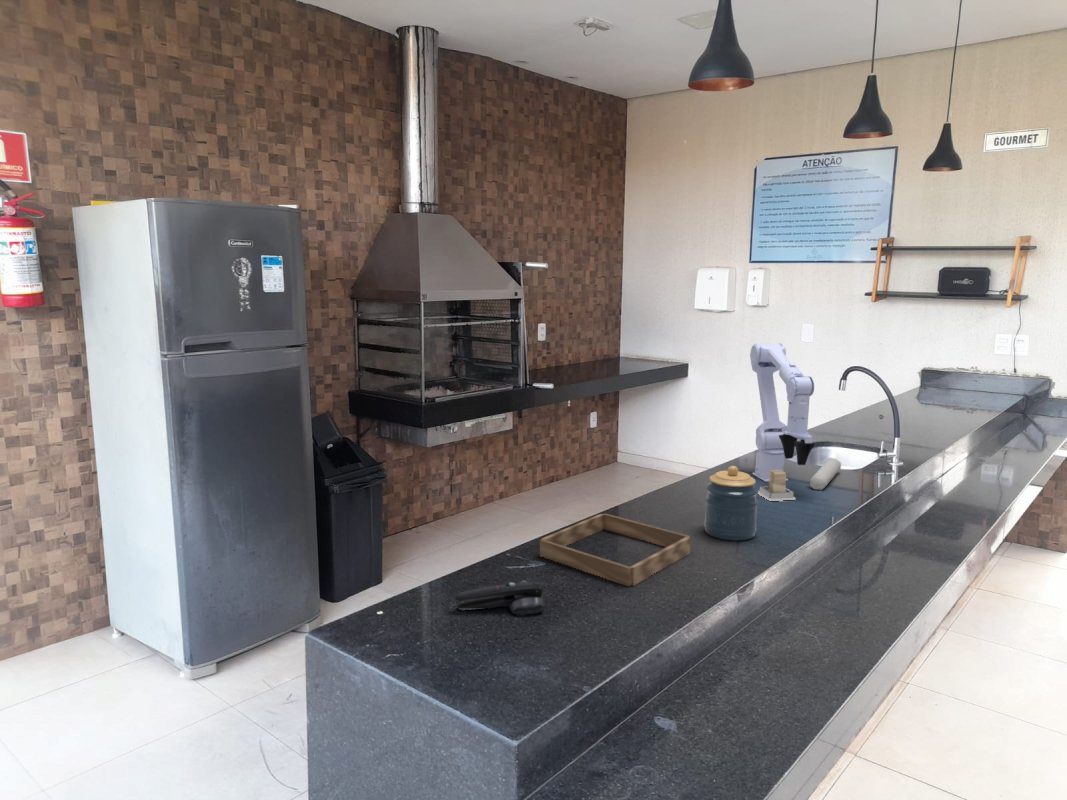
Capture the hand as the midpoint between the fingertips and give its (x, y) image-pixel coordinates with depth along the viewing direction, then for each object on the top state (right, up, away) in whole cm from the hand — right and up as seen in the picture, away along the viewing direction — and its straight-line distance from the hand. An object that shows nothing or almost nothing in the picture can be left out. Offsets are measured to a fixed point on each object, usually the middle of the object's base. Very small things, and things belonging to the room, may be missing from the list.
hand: (794, 461), depth 221 cm
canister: (-28, -16, -32) cm, 45 cm away
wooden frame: (-59, -18, -46) cm, 77 cm away
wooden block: (-6, -10, -2) cm, 12 cm away
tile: (-6, -10, -2) cm, 12 cm away
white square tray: (-6, -10, -2) cm, 12 cm away
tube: (+15, -8, +15) cm, 22 cm away
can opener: (-85, -24, -74) cm, 115 cm away
